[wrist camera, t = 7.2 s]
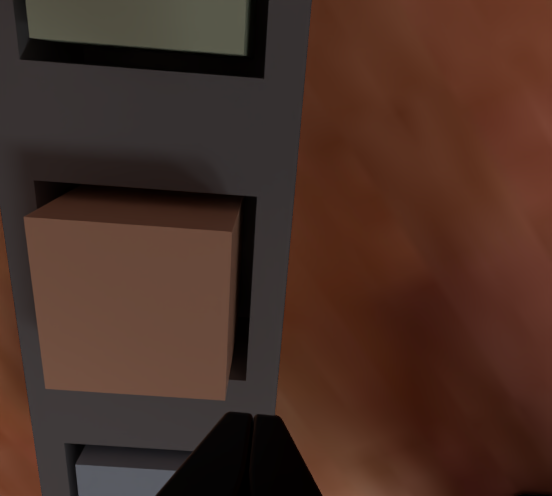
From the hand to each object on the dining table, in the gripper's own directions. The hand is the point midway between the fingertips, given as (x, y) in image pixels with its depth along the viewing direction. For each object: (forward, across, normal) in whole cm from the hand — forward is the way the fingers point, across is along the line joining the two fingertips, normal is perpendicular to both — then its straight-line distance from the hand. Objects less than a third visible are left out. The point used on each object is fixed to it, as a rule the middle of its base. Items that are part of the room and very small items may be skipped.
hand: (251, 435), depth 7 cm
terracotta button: (+9, +4, +1) cm, 10 cm away
